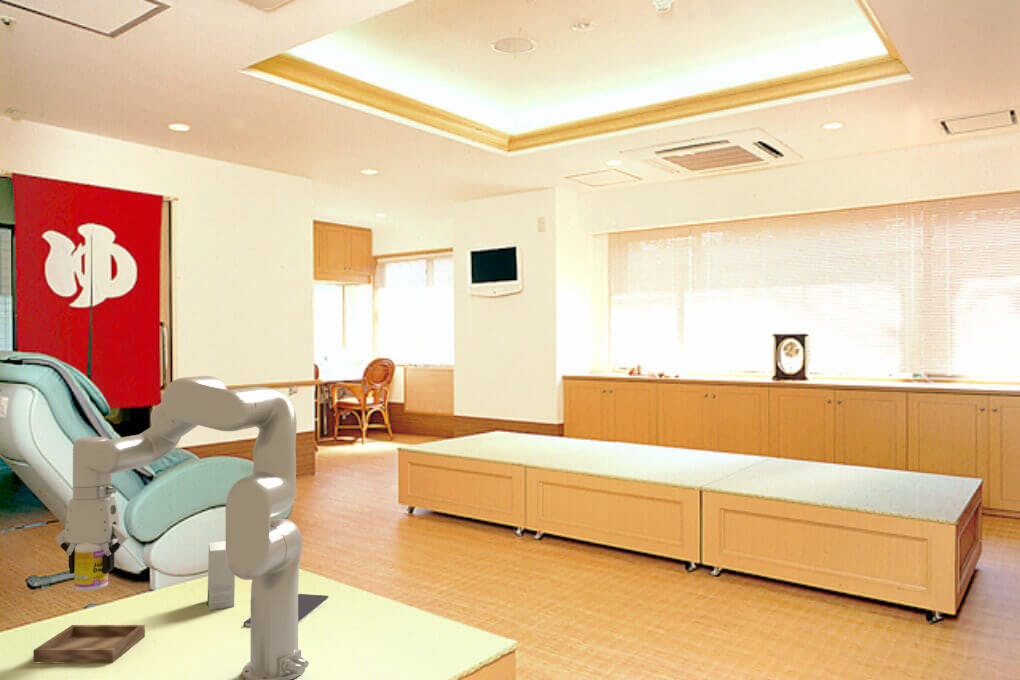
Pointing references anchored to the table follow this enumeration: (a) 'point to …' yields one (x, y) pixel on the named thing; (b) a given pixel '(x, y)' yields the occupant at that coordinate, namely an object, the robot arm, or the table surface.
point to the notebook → (303, 606)
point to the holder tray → (90, 644)
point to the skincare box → (219, 578)
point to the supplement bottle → (89, 567)
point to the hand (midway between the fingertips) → (91, 571)
